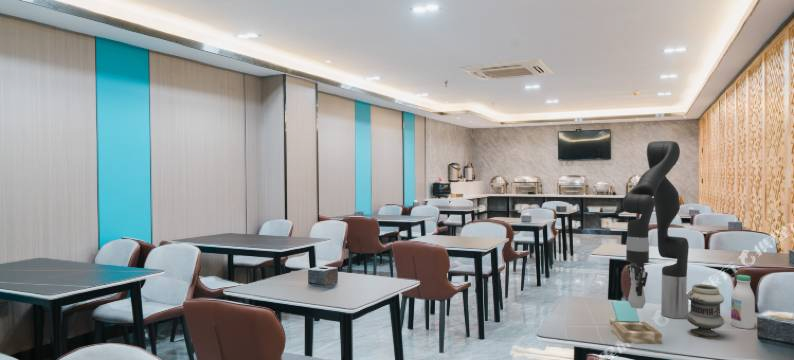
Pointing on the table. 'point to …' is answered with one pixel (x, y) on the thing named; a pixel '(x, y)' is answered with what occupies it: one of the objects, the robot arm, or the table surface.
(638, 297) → the salt shaker
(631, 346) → the table surface
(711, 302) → the apothecary jar
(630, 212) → the robot arm
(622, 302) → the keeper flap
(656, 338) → the socket block
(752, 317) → the milk bottle
